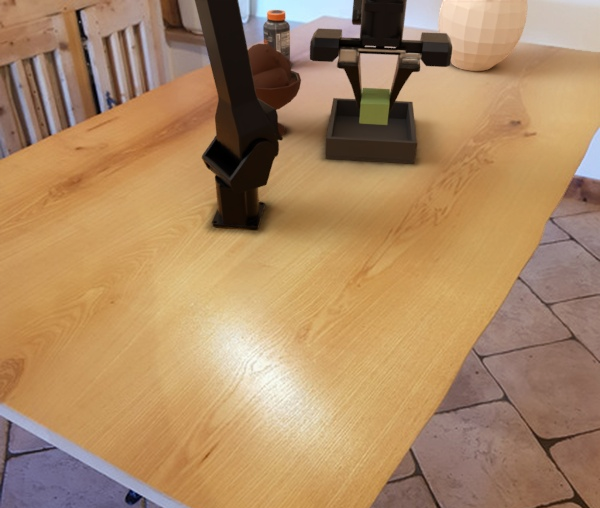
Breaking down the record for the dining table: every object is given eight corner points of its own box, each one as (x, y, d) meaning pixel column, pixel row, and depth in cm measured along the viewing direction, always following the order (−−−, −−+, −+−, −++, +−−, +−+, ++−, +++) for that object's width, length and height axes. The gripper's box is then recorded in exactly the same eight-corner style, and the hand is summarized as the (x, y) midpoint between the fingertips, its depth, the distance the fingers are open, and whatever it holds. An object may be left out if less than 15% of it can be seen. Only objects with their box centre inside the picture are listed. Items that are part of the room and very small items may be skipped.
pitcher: (427, 73, 123) (447, -59, 106) (436, 49, 136) (455, -72, 120) (513, 82, 119) (548, -54, 102) (514, 56, 132) (545, -67, 116)
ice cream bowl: (294, 146, 94) (294, 55, 85) (232, 140, 96) (225, 50, 86) (306, 121, 102) (307, 35, 92) (248, 116, 104) (244, 31, 94)
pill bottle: (260, 63, 128) (258, 9, 120) (283, 59, 130) (283, 6, 122) (270, 70, 124) (268, 16, 116) (294, 67, 125) (294, 13, 118)
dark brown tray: (414, 163, 90) (417, 143, 87) (325, 158, 91) (326, 138, 89) (409, 120, 103) (412, 101, 101) (332, 116, 104) (333, 97, 102)
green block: (387, 125, 78) (389, 104, 76) (359, 123, 79) (360, 103, 77) (387, 108, 83) (389, 88, 81) (361, 107, 83) (362, 87, 81)
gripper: (455, -23, 75) (436, 92, 85) (319, -26, 77) (317, 86, 87) (462, -3, 67) (440, 121, 77) (310, -8, 68) (308, 114, 79)
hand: (374, 109), depth 80 cm, fingers closed on green block, 4 cm apart
